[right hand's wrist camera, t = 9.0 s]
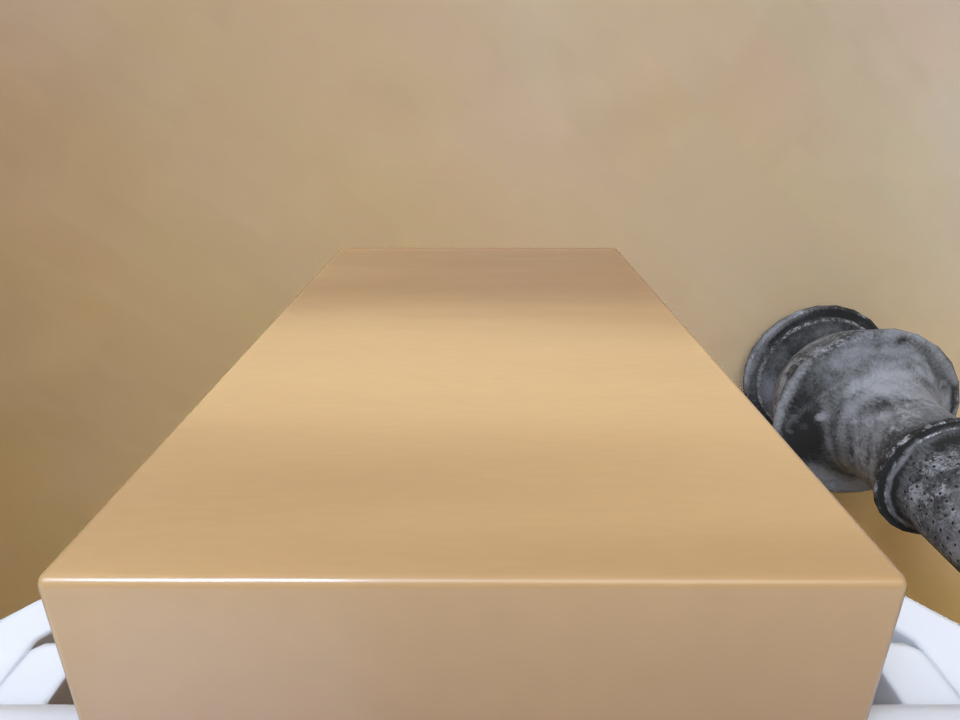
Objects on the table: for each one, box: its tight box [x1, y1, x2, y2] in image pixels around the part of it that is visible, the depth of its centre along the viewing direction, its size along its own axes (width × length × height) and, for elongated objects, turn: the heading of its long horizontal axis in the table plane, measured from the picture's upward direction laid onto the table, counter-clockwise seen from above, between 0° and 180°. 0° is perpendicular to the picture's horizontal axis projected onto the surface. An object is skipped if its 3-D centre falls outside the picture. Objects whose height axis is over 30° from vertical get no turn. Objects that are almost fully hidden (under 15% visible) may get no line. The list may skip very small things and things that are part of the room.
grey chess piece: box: [743, 306, 960, 572], centre depth 19 cm, size 6×6×12 cm
